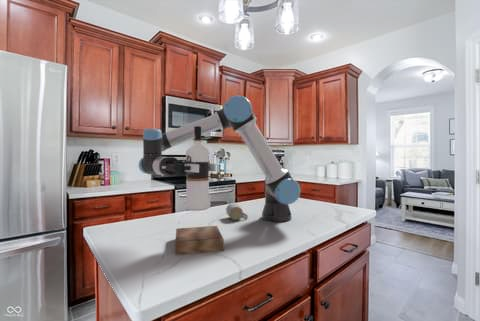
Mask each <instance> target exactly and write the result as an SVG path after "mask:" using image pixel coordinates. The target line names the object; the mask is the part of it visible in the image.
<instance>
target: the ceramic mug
mask: <svg viewBox="0 0 480 321" xmlns="http://www.w3.org/2000/svg"><path fill="white" fill-rule="evenodd" d="M225 212H226V215H227V216H228V217H229V218H230V219H231V220H233V221H239V220H240V219H245V220H248V217H249V216H248V214H246V213H245V212H244V211H243V209H242V207H241V206H240V204H238V203H236V202H231V203H229V204H228V205H227V206H226V211H225Z"/></svg>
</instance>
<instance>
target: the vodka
mask: <svg viewBox="0 0 480 321" xmlns="http://www.w3.org/2000/svg"><path fill="white" fill-rule="evenodd" d="M193 142H194V143H193V144H192V145H191V146H190V147H188V148H187V149H186V152H185V162H187V164H199V172H186V180H185V182H186V184H185V185H186V191H185V192H186V194H185V201H184V208H185V209H186V210H188V211H193V212H194V211H195V212H198V211H199V212H200V211H206V210H208V209H209V208H211V200H210V199H211V198H210V189H209V188H210V185H209V184H210V180H209V178H210V176H209V174H210V173H209V172H210V171H209V164H210V150H209V149H208V148H206V146H204V145H203V144H202V136H201V127H200V126H195V127H194V139H193Z"/></svg>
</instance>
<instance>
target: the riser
mask: <svg viewBox="0 0 480 321" xmlns="http://www.w3.org/2000/svg"><path fill="white" fill-rule="evenodd" d="M224 239H225V238H224V237H223V235H222V233H221V231H220V229H219V227H218V226H217V225H209V226H208V225H207V226H197V227H183V228H182V227H181V228H180V227H179V228H176V229H175V239H174V240H175V243H174V244H175V247H174V248H175V252H174V253H175V254H174V255H175V256H178V255H180V254H181V255H188V254H189V255H190V254H199V253H200V254H201V253H209V252H210V253H211V252H220V251H224V247H225V246H224V243H225V242H224Z"/></svg>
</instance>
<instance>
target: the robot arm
mask: <svg viewBox="0 0 480 321" xmlns="http://www.w3.org/2000/svg"><path fill="white" fill-rule="evenodd" d="M256 122H257V117H256V115H255V113H254V111H253V107H252V104H251V101H250V100H249V99H248V98H247V97H245V96H243V95H241V94H240V95H239V94H237V95H233V96H231V97H229V98H228V99H227V100H226V101H225V103H224V105H223V107H222V108H221V109H218V110H217V111H215V112H214V114H211V115H209V116H207V117H204V118H200V119H199V120H195V121H194V122H190V123H187V124H185V125H182V126H179V127H177V128H174V129H171V130H169V131H166V132H164V133H163V132H162V130H161V129H157V128H146V129H144V130H143V131H142V132H143V134H142V139H143V140H142V143H143V144H142V145H143V148H142V149H143V154H142V156H143V157H141V159H140V160H139V161H138V169H139V170H140V172H141V173H142V174H147V175H157V176H160V175H161V177H164V176H169V177H171V176H172V177H174V176H176V175H177V174H178V173H179V172H180V174H185V173H187V172H199V164H187V161H179V160H178V158H177V157H174V156H162V155H163V153H162V152H165V151H166V150H169V149H171V148H173V147H176V146H178V145H180V144H184V143H186V142H189V141H191V140H194V127H195V126H200V127H201V137H202V136H204V135H207V134H209V133H213V132H215V131H217V130H221V131H223V130H226V129H229V128H232V130H233V132H234V133H237V134H239V135H240V136H241V138H242V140H243V141H244V143H245V145H246V147H247V148H248V150H249V151H250V154H251V155H252V157H253V158H254V160H255V161H256V163H257V165H258V167H259V168H260V170H261V171H262V173H263V175H264V176H265V178H264V188H265V189H264V192H265V193H264V197H265V198H264V199H265V202H264V206H263V208H262V212H261V219H263V220H265V221H267V222H269V221H270V222H274V223H275V222H280V223H281V222H287V221H290V220H292V212H291V210H290V206H289V205H291V204H294V203H295V202H296V201H298V199H299V198H300V196H301V186H300V184H299V183H298V181H297V180H295V179H294V178H293V177H292V175H291V173H290V172H289V170H288V169H287V168H286V169H285V168H283V166H282V165H281V163H280V161H279V160H278V158H277V157H276V155H275V153H274V152H273V150H272V148H271V147H270V145H269V143H268V141H267V140H266V139H265V136H264V135H263V134H262V132H261V130H260V128H259V126H258V124H257V123H256ZM209 172H217V164H216V163H209Z"/></svg>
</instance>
